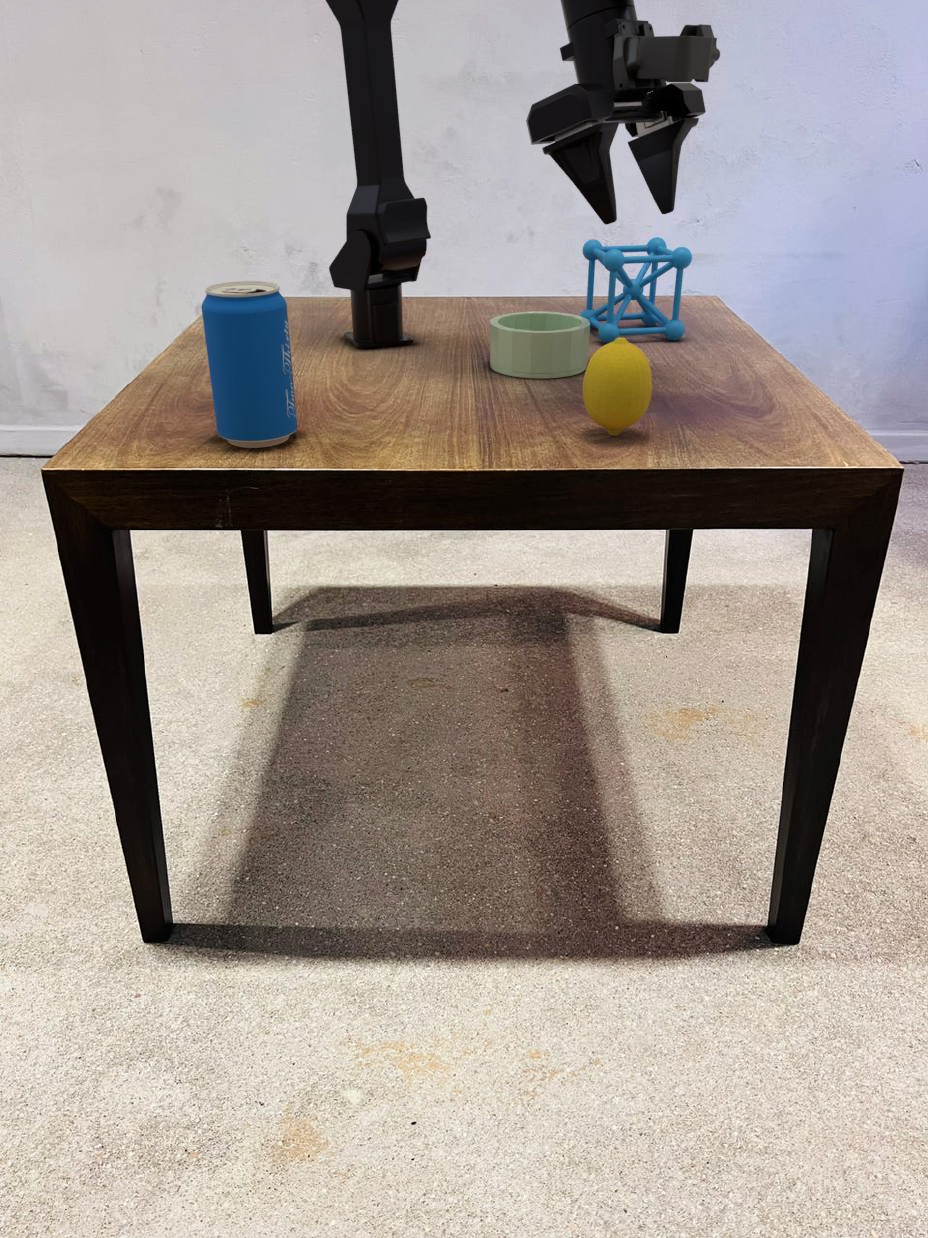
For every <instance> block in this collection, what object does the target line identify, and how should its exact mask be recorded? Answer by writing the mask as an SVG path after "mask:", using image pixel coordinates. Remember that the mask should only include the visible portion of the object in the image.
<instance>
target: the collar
mask: <svg viewBox="0 0 928 1238" xmlns="http://www.w3.org/2000/svg"><path fill="white" fill-rule="evenodd" d="M489 323H490V324H489V367H490V369H491V370H492V371H495V373H498V374H501V375H504V376H509V377H513V378H514V377H515V378H523V379H539V380H540V379H545V380H546V379H556V378H557V379H560V378H566V377H571V376H575V375H578V374H581V373H583V372H584V371H585V372H586V369H587V366H588V363H589V353H590V334H591V333H590V331H591V329H590V323H589V320H588V319H586V318H583V317H581V316H580V315H578V314H573V313H567V312H559V311H546V310H545V311H542V310H541V311H539V310H538V311H521V312H520V311H519V312H509V313H503V314H500V315H496V316H495V317H492V318H491V319H489Z"/></svg>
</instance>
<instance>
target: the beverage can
mask: <svg viewBox="0 0 928 1238" xmlns="http://www.w3.org/2000/svg"><path fill="white" fill-rule="evenodd" d="M280 288H281V287H280V285H279V284H278V283H275V282H270V281H260V280H239V281H238V280H237V281H225V282H219V283H214V284H211V285H208V286H206V287H205V288H204V292H205V294H206V295H205V297H204V299H203V301H202V303H201V315H202V322H203V329H204V330H203V331H204V337H205V345H206V351H207V352H206V353H207V361H208V368H209V377H210V384H211V392H212V400H213V408H214V416H215V424H216V432H217V434H218V436H219V437H220V438H222V439H225V440H227V442H228V443H229V444H230V445H232V446H234V447H239V448H244V449H261V448H269V447H273V446H278V445H280V444H283V443H285V442H287V440H289V438H290V436H292V434H294V433H295V432H296V431H297V430H298V420H297V419H298V418H297V408H296V407H297V406H296V396H295V385H294V383H295V382H294V373H293V362H292V351H291V340H290V327H289V317H288V305H287V304H288V303H287V301H286V299H285V298H284V296H283V295H282V294H281V293H280Z"/></svg>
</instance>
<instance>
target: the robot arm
mask: <svg viewBox="0 0 928 1238" xmlns="http://www.w3.org/2000/svg"><path fill="white" fill-rule="evenodd" d="M399 1H400V0H325V3H326V4H327V6H328V7H329V9H330V11H331V13H332V14H333V16H334V18H335V19H336V21H337V23H338V25H339V29H340V33H341V34H340V36H341V46H342V53H343V62H344V63H343V64H344V72H345V73H344V74H345V82H346V93H347V102H348V109H349V120H350V128H351V137H352V138H351V139H352V146H353V157H354V166H355V177H356V187H355V190H354V193H353V196H352V198H351V201H350V203H349V206H348V209H347V212H346V217H345V219H346V221H345V223H346V224H345V225H346V228H345V229H346V230H345V233H346V239H345V240H346V241H345V242H344V244H343V245H342V246H341V248H340V249H339V251H338V253H337V254H336V256H335V257H334V259H333V260H332V262H331V263H330V265H329V267H328V270H329V271H328V272H329V274H330V279H331V281H332V285H333V287H334V288H336V289H343V290H349V291H350V309H351V311H350V312H351V325H352V331H346V332H345V331H344V332H343V338H344V339H346V340H347V341H349V342H350V343H351V345H354V346H355V347H356V348H358V349H368V348H377V347H388V346H398V345H400V346H401V345H409V344H414V342H415V341H414V338H413V337H412V336H410V335H409V334H407V333H406V332H404V315H403V288H402V287H403V286H402V284H404V283H408V282H410V283H414V282H417V280H418V277H419V273H420V268H421V264H422V259H423V258H425V257H426V254H427V251H428V240H430V239H431V238H432V235H431V233H430V230H429V225H428V204H427V203H428V202H427V201H426V198H424V197H416V198H415V197H414V195H413V192H412V191H411V190H410V188H409V186H408V184H407V183H406V178H405V171H404V160H403V149H402V138H401V125H400V115H399V104H398V92H397V80H396V70H395V69H396V67H395V59H394V58H395V57H394V46H393V36H392V20H393V18H394V15H395V12H396V9H397V6H398V4H399ZM560 5H561V10H562V15H563V19H564V23H565V29H566V34H567V39H568V43H566V44H565V45H562V46H561V47H559V51H560V57H561V61H562V62H572V63H573V66H574V67H573V68H574V72H575V76H576V81H577V83H574V84H572V85H569V86H568V87H565V88H563V89H561V90H559V91H557V92H555V93H552V94H551V95H549V96H547V97H544V98H543V99H541V100H539V101H536V102H534V103H533V104H531V106H530V108H529V112H528V115H527V116H526V119H525V122H526V126H527V131H528V136H529V140H530V145H533V146H535V145H546V144H547V145H546V146H543V147H542V148H541V150H542V153H543V154H544V155H545V156H547V155H548V156H550V158H551V159H552V160H553V161H554V163H555V164H556V165H557V166H558V167H559V168H560V169H561V170H562V172H564V174H565V175H566V176H567V177H568V179H569V180H570V181H571V182H572V184H573V185H574V187H576V189H577V190H578V191H579V193H580V194H581V195H582V196H583V198H584V199H585V201H586V202H587V203H588V205H589V206H590V207H591V209H592V210H593V211H594V213H595V214H596V215H597V216H598V218H599V219H600V220H601V222H602V223H603V224H604V225H610V224H613V223H616V222H617V220H618V214H617V213H618V212H617V199H616V192H615V191H616V190H615V184H614V175H613V167H612V161H611V160H612V159H611V147H612V144H613V141H614V138H615V136H616V134H617V131H618V128H619V125H622V124H624V128H625V130H626V131H627V132H628V134H629V136H630V137H631V138H634V139H632V140H629V141H627V145H628V147H629V149H630V152H631V154H632V156H633V158H634V160H635V162H636V165H637V166H638V168H639V171H640V173H641V175H642V177H643V179H644V181H645V184H646V186H647V188H648V190H649V192H650V194H651V197H652V199H653V201H654V203H655V205H656V206H657V208H658V210H659V212H660V214H661V215H667V214H670V213H673V212H674V211H675V206H676V205H675V203H676V195H677V185H678V175H679V166H680V165H679V164H680V159H681V158H680V157H681V151H682V146H683V143H684V141H685V140H686V138H687V137H688V135H689V133H690V132H691V130H692V129H693V128H695V127H696V126H697V125H698V123H699V120H700V118H699V117H700V116H703V115H704V114H705V113H706V106H705V101H704V95H703V90H702V89H701V88H700V87H698V86H696V85H695V84H693V83H692V82H693V80H694V81H695V82H696V83H708V82H709V78H710V71H711V70H710V69H711V68H712V67H713V66H714V65H715V63H716V62H717V61H719V59H720V57H721V51H720V49H718V47H717V41H718V38H717V37H715V34H714V32H713V31H714V30H713V29H712V25H711V24H702V23H701V24H699V23H698V24H685V25H684V26H683V28H682V29H681V32H680V34H679V35H662V36H661V35H659V36H655V32H654V27H653V25H652V24H651V23H649V20H639V19H638V16H637V15H638V14H637V10H636V5H635V0H560Z"/></svg>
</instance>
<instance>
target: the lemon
mask: <svg viewBox="0 0 928 1238" xmlns="http://www.w3.org/2000/svg"><path fill="white" fill-rule="evenodd" d="M652 394H653V376H652V369H651V365H650V362H649V359H648V357H647V356H646V354H645V353H644V352H643V350H642V349H640V348H639V347H638V346H637V345H635V344H634V343H631V342H629V341H628V340H627V339H626V338H625V337H623V336H619V337H618V338H616V339H615V340H614V342H611V343H608V344H606V343H605V344H604V345H603V346H601V347H600V348H598V349H597V350H596V351H595V352H594V353H593V354H592V356H591V357H590V360H588V364H587V368H586V370H585V372H584V377H583V381H582V398H583V403H584V407H585V410H586V412H587V414H588V416H589V417H590V419H591V420H592V421H593V422H594V423H595V424H597V425H598V426H600V427H602V428H603V429H605V430H606V431H607V433H608V434H609V435H610V436H618V435H619V434H621V432H623V431H624V430H625V429H628V428H630V427H632V426H634V425H635V424H637V423H638V422H639V421H641V419H642V418H643V417H644V415H645V414H646V412H647V410H648V409H649V405H650V403H651V399H652Z"/></svg>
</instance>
